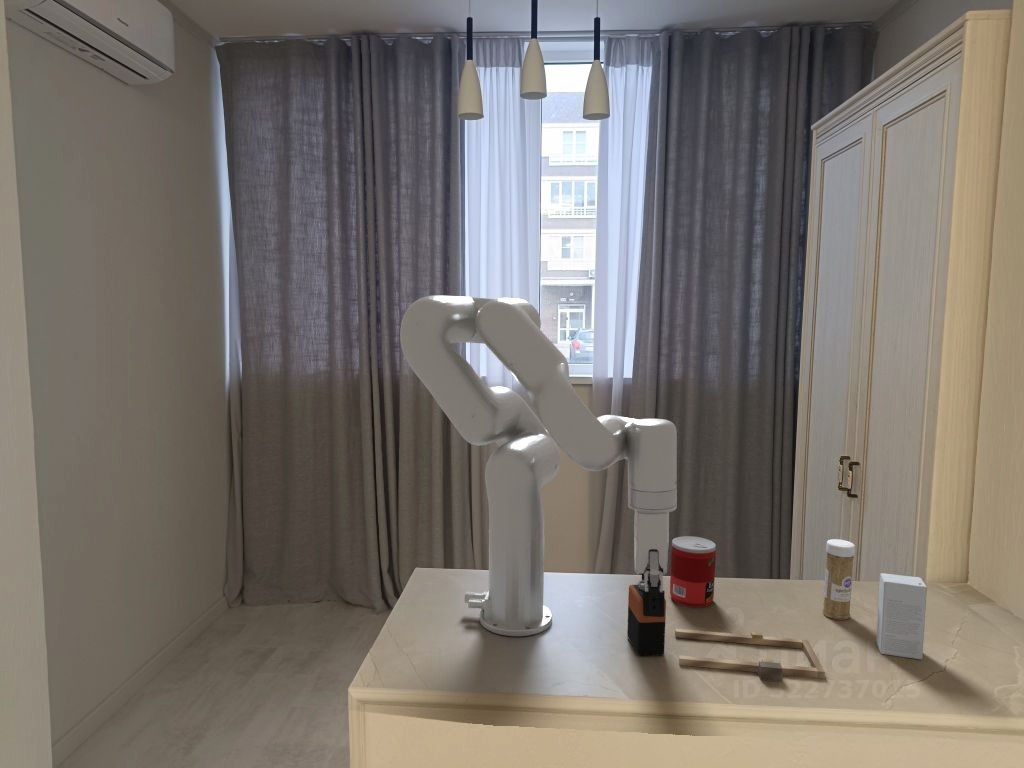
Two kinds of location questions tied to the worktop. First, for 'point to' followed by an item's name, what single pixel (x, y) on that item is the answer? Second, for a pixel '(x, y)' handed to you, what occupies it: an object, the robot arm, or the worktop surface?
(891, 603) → the skincare box
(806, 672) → the track
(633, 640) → the battery
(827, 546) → the sprinkles bottle
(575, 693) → the worktop surface
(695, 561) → the canned food
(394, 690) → the worktop surface
